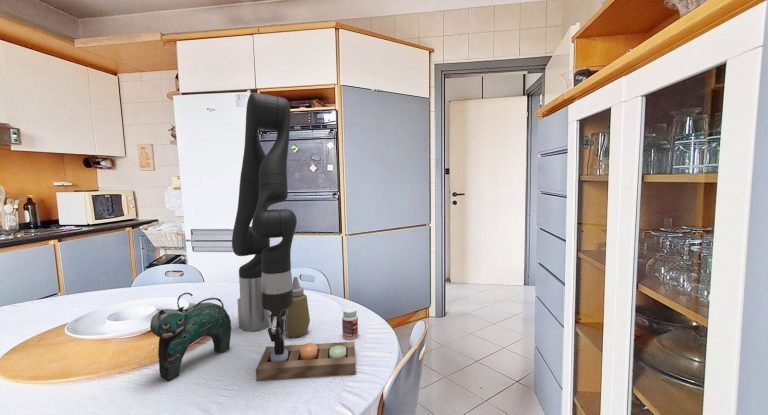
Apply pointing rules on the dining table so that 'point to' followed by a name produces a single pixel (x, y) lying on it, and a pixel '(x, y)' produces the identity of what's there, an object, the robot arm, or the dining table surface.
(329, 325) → the dining table surface
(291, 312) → the squeeze bottle
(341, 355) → the sage green button
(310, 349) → the orange button
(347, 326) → the pill bottle
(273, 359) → the slate blue button
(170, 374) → the ceramic cat
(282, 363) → the walnut button panel
